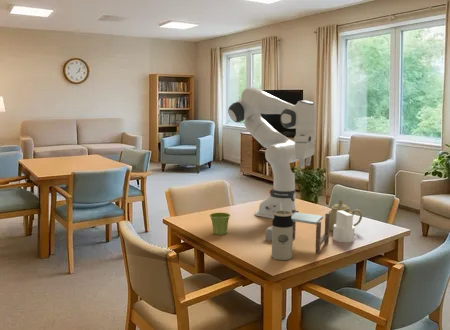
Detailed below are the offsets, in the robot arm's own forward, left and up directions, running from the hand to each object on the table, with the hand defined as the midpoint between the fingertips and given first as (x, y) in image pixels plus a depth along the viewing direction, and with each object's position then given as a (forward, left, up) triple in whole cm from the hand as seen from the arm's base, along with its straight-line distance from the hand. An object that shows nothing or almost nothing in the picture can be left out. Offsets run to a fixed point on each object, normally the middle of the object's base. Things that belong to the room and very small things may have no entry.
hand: (305, 167), depth 206 cm
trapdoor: (+4, -18, -20) cm, 28 cm away
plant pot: (-34, -19, -31) cm, 50 cm away
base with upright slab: (+19, -2, -31) cm, 36 cm away
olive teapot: (+16, +13, -31) cm, 37 cm away
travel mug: (+2, -36, -31) cm, 47 cm away
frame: (+6, -18, -31) cm, 36 cm away
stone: (-9, -16, -31) cm, 36 cm away
